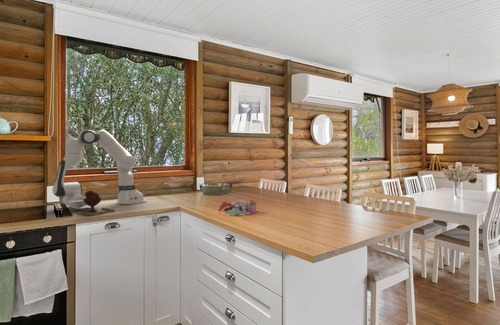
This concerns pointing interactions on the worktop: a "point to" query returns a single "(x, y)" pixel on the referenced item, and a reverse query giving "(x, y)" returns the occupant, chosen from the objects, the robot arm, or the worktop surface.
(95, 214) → the walnut bay
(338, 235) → the worktop surface
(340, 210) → the worktop surface
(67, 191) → the robot arm
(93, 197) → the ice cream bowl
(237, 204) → the coral reef ornament
